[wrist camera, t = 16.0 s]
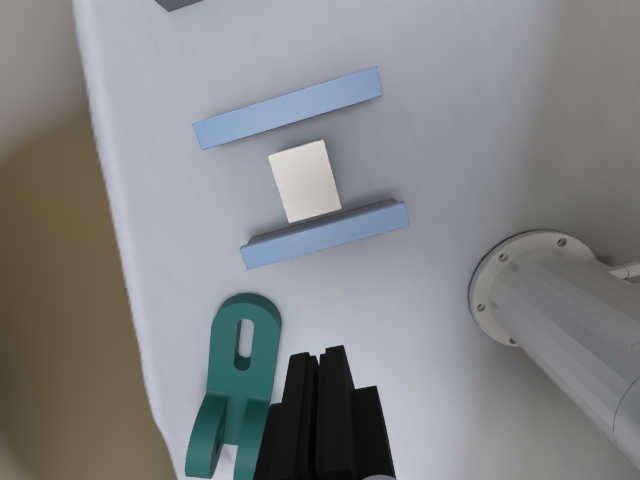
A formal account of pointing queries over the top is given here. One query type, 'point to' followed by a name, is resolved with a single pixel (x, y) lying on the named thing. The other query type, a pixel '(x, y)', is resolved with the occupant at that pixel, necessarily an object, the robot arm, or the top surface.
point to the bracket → (236, 388)
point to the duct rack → (287, 112)
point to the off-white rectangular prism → (305, 180)
